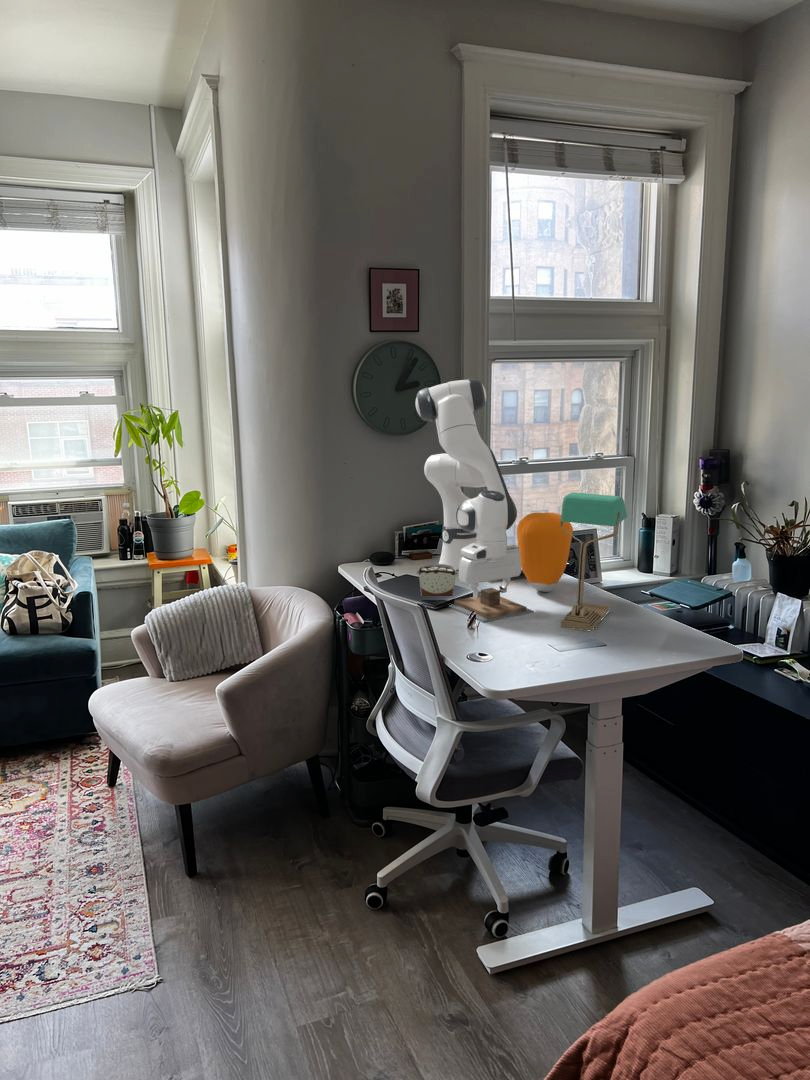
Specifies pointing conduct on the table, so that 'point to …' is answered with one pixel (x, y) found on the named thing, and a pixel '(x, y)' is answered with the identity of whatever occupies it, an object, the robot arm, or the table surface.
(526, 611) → the charcoal mat
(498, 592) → the walnut cover
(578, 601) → the banker's lamp
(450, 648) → the table surface
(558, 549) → the orange tapered rounded form
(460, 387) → the robot arm
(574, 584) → the table surface
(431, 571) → the food container
